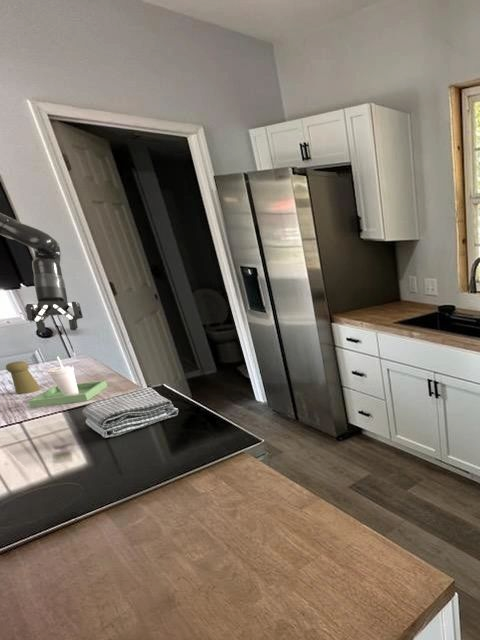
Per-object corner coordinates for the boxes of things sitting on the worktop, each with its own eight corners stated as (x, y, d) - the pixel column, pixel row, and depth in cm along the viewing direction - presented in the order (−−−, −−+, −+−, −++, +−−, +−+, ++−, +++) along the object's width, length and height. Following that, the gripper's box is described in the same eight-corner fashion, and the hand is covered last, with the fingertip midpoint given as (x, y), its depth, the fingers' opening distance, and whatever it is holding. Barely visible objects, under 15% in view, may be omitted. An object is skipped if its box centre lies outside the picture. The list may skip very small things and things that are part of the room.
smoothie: (81, 395, 143) (65, 357, 138) (56, 399, 140) (38, 360, 135) (86, 389, 148) (70, 352, 143) (61, 393, 145) (44, 356, 140)
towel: (86, 429, 120) (75, 404, 117) (161, 406, 135) (153, 384, 132) (105, 441, 113) (94, 416, 110) (182, 416, 127) (174, 393, 124)
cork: (30, 387, 153) (16, 359, 149) (45, 387, 153) (32, 359, 149) (11, 394, 147) (-4, 365, 143) (27, 394, 147) (13, 365, 143)
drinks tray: (31, 407, 135) (27, 401, 134) (56, 392, 148) (53, 386, 147) (87, 400, 140) (85, 394, 140) (107, 386, 153) (105, 380, 152)
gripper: (81, 289, 158) (89, 330, 159) (31, 291, 153) (39, 334, 153) (69, 284, 151) (77, 328, 152) (16, 286, 146) (24, 331, 146)
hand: (58, 331), depth 152 cm, fingers open, 8 cm apart
